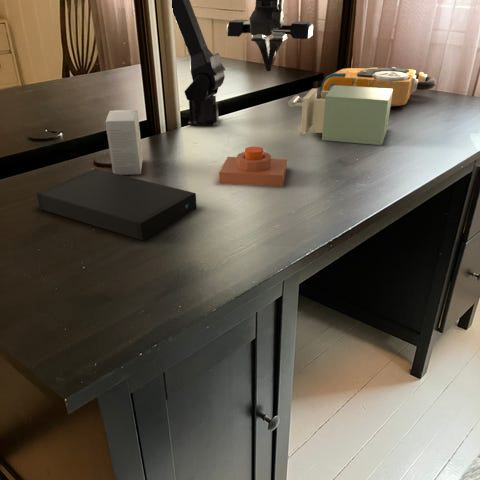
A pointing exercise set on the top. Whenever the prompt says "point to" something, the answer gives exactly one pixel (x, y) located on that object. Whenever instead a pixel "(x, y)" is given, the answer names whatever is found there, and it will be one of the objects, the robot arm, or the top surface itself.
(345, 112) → the sage green box
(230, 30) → the robot arm
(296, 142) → the top surface
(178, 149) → the top surface
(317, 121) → the drawer
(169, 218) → the external hard drive
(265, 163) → the block
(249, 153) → the button
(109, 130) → the small box
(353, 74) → the device
